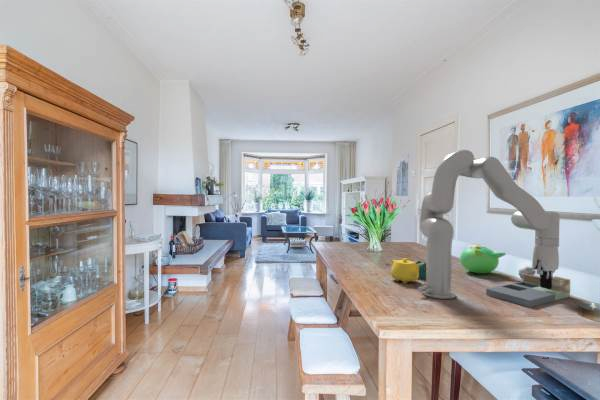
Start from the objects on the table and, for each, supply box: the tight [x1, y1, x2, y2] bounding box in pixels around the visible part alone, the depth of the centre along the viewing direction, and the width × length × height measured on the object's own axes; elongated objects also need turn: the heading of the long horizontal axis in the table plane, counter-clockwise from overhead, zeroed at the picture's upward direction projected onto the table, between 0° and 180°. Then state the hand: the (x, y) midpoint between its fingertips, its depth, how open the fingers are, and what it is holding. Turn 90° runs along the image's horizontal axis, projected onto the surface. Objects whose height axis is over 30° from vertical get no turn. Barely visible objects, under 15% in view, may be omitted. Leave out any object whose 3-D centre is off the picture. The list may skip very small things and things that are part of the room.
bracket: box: [412, 260, 426, 280], centre depth 157 cm, size 18×7×8 cm, turn 114°
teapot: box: [390, 258, 420, 285], centre depth 146 cm, size 18×11×11 cm, turn 28°
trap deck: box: [485, 274, 571, 308], centre depth 124 cm, size 28×16×6 cm, turn 116°
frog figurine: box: [518, 266, 537, 281], centre depth 147 cm, size 6×7×7 cm
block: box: [548, 275, 571, 293], centre depth 123 cm, size 5×5×5 cm
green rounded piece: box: [459, 244, 506, 274], centre depth 162 cm, size 18×17×15 cm
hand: (545, 287), depth 123 cm, fingers closed
